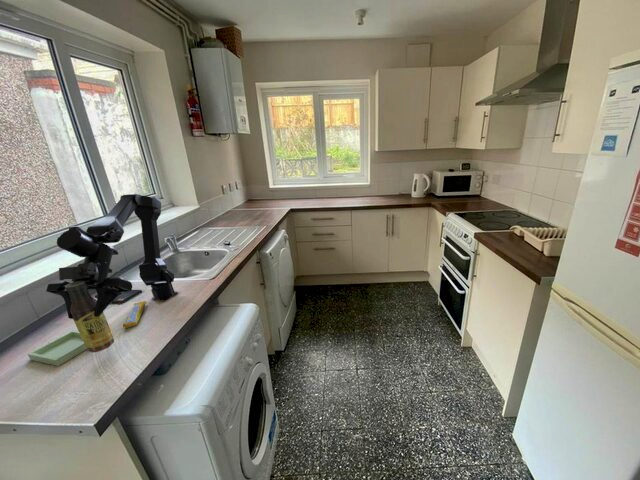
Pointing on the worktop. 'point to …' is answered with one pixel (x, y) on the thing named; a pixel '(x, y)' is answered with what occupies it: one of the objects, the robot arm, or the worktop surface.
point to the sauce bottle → (88, 318)
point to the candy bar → (135, 314)
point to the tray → (59, 349)
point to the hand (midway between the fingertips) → (83, 317)
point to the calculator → (124, 296)
